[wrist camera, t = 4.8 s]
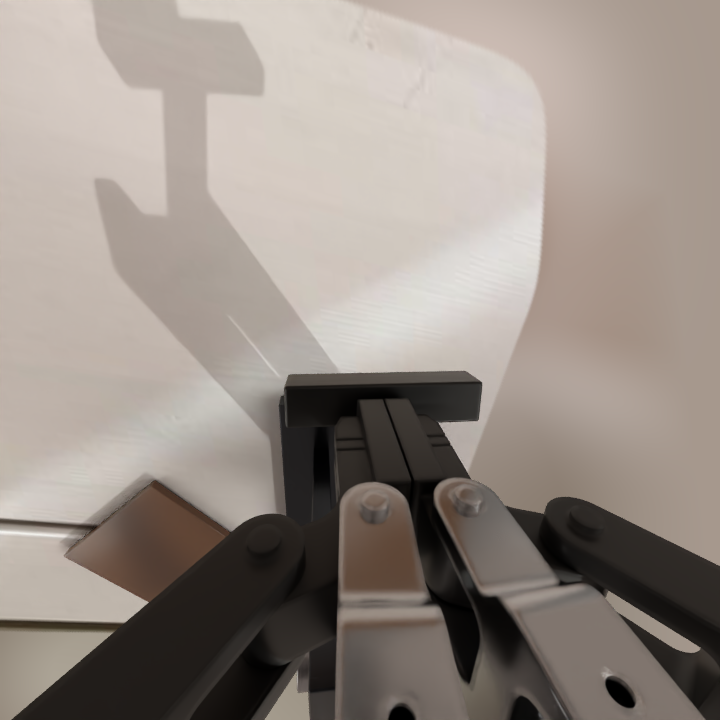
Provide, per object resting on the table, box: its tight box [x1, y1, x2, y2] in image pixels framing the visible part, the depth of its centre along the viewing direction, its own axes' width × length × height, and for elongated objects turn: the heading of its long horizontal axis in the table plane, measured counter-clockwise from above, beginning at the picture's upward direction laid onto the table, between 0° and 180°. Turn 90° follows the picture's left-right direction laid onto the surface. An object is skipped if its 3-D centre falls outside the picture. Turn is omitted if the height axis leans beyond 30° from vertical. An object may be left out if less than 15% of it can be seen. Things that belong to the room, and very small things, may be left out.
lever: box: [284, 371, 482, 428], centre depth 13 cm, size 13×6×2 cm, turn 178°
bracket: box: [279, 396, 337, 720], centre depth 19 cm, size 11×9×14 cm
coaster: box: [64, 481, 230, 602], centre depth 26 cm, size 9×9×1 cm
